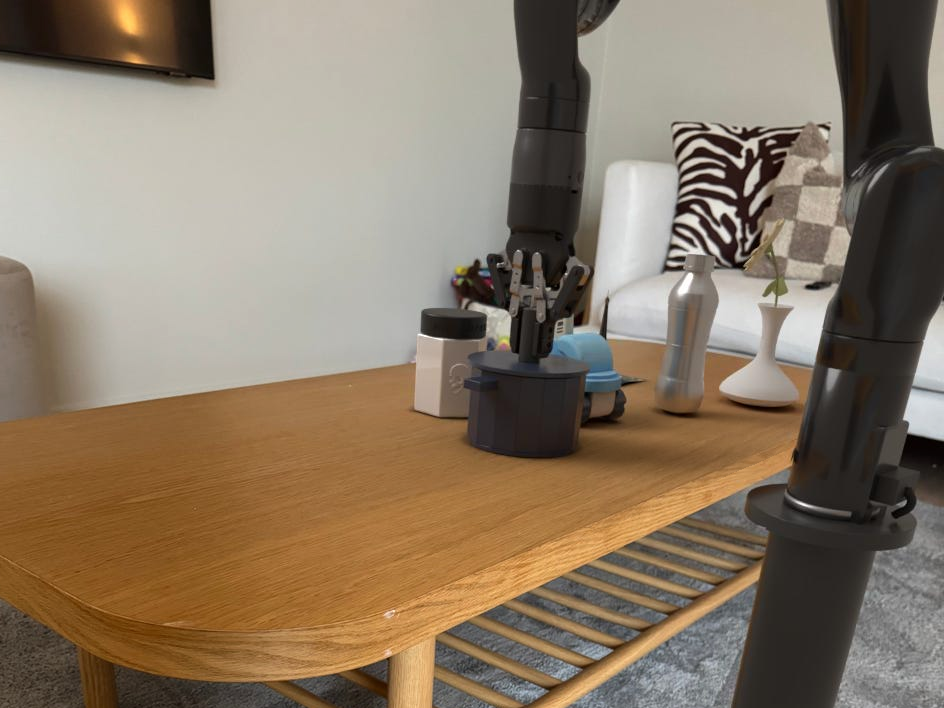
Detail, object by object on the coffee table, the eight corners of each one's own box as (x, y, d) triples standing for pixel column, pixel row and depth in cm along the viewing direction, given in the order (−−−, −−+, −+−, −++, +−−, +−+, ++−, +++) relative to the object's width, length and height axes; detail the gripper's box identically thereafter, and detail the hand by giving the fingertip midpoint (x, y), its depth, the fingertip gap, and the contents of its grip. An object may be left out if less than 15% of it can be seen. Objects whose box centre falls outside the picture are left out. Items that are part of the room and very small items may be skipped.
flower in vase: (742, 392, 147) (775, 216, 137) (810, 407, 140) (852, 222, 130) (695, 401, 139) (727, 213, 128) (766, 417, 132) (806, 220, 121)
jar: (421, 418, 117) (426, 315, 112) (407, 403, 124) (411, 306, 119) (491, 418, 120) (499, 318, 114) (472, 404, 127) (479, 308, 121)
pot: (612, 444, 112) (623, 370, 108) (510, 467, 100) (517, 384, 96) (531, 422, 119) (538, 352, 116) (426, 440, 107) (430, 363, 104)
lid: (614, 377, 106) (622, 315, 104) (534, 388, 97) (541, 320, 94) (522, 356, 115) (527, 298, 112) (441, 365, 106) (445, 302, 103)
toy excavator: (544, 397, 134) (557, 266, 127) (629, 424, 122) (650, 281, 115) (496, 401, 129) (507, 265, 122) (580, 430, 117) (598, 281, 110)
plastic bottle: (682, 420, 127) (709, 258, 118) (641, 409, 131) (664, 252, 122) (710, 415, 131) (738, 258, 122) (669, 405, 135) (694, 252, 126)
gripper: (472, 175, 100) (461, 347, 107) (577, 183, 91) (557, 369, 99) (519, 179, 105) (505, 343, 112) (623, 187, 96) (601, 363, 104)
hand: (530, 354), depth 105 cm, fingers closed on lid, 2 cm apart
